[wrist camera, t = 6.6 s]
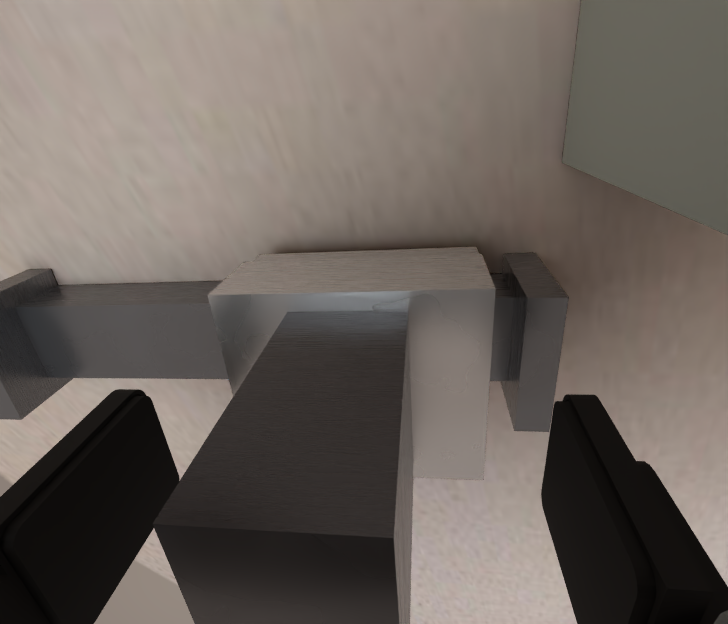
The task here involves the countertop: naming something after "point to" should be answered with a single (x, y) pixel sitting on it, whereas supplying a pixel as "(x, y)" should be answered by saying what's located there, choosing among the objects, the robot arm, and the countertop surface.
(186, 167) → the countertop surface
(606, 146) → the grey square housing
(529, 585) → the countertop surface
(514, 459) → the countertop surface
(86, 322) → the rail
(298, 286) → the carriage
